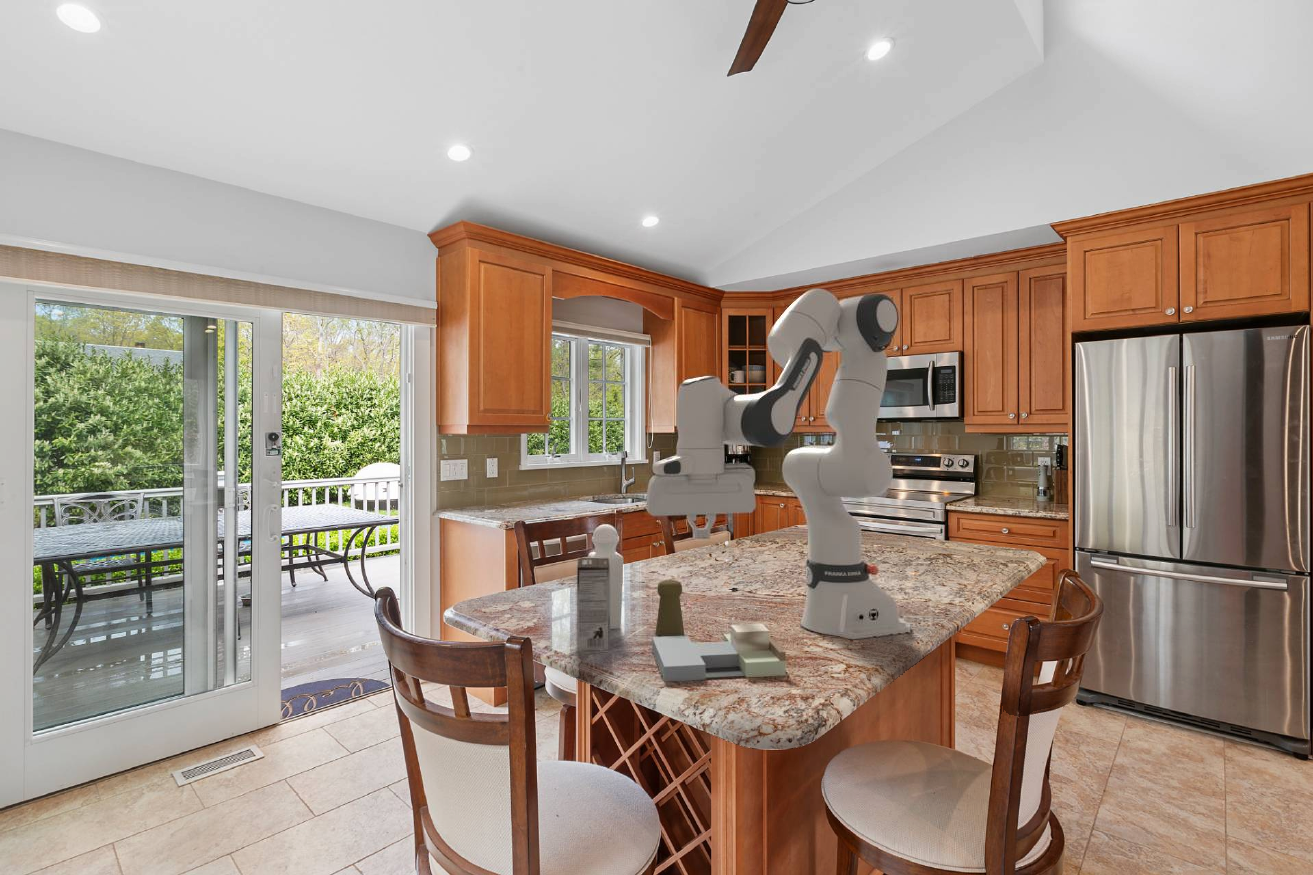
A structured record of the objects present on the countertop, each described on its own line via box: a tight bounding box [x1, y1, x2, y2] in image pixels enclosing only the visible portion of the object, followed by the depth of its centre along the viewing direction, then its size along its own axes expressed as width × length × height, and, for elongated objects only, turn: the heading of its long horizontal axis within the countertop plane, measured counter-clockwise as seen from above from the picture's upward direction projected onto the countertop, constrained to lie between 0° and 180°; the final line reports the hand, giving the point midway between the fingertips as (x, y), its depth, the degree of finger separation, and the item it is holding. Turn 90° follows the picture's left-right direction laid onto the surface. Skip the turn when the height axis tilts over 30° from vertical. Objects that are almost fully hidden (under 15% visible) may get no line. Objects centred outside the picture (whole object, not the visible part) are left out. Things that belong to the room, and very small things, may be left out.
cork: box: [655, 579, 685, 637], centre depth 133 cm, size 6×6×11 cm
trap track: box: [651, 633, 787, 682], centre depth 116 cm, size 21×16×4 cm
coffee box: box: [576, 557, 611, 651], centre depth 127 cm, size 9×6×16 cm
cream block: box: [730, 623, 770, 652], centre depth 117 cm, size 6×4×4 cm
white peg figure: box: [587, 523, 624, 630], centre depth 139 cm, size 6×6×22 cm
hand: (701, 538), depth 119 cm, fingers closed
